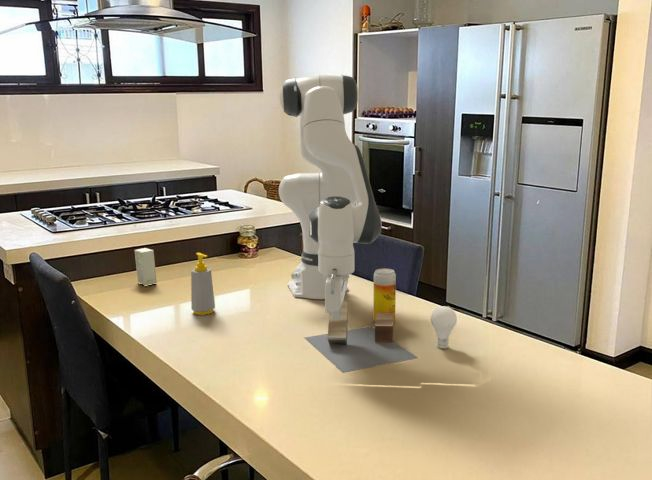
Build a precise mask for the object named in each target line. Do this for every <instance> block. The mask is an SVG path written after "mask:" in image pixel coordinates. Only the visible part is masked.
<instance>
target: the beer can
mask: <svg viewBox="0 0 652 480" xmlns="http://www.w3.org/2000/svg"><path fill="white" fill-rule="evenodd" d="M396 277H397V274H396V272H395V270H394V269H391V268H378V269H375V270H374V273H373V303H372V304H373V307H372V308H373V313H372V314H373V315H372V316H373V317H372V319H373V322H375V321H376V313H393V323H395V321H396V299H397V298H396V295H397V294H396V293H397V292H396V291H397V287H396V286H397V285H396V283H397V281H396V280H397V278H396Z"/></svg>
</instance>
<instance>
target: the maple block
mask: <svg viewBox="0 0 652 480" xmlns="http://www.w3.org/2000/svg"><path fill="white" fill-rule="evenodd" d="M348 323H349V303H348V301H347V300H346V301H345V300H343V303H342V307H341V316H340V319H339V320H333V313H328V323H327V324H328V326H327V334H328V342H329V344H343V345H347V331H348V330H349V329H348V325H349V324H348Z"/></svg>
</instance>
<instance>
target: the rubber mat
mask: <svg viewBox="0 0 652 480" xmlns="http://www.w3.org/2000/svg"><path fill="white" fill-rule="evenodd" d="M304 339H305V340H306V341H307V342H308V343H309V344H310V345H311V346H312V347H314V349H316V350H317V351H318V352H319V353H320V354H321V355H323V357H324V358H326V359H327V360H328V361H329V362H330V363H331V364H332V365H334V366H335V368H337V369H338V370H339V371H340V372H341V373H342V374H343V373H349V372H354V371H359V370H364V369H368V368H374V367H379V366H384V365H388V364H389V365H390V364H393V363H394V364H395V363H399V362H404V361H409V360H414V359H419V357H418V356H417V355H415V354H414V353H412V352H411V351H409V350H408V349H406V348H404V347H403V346H401V345H400V344H398V342H396V341H394V340H393V343H377V342H375V326H374V327H373V326H372V325H370V326H365V327H364V326H363V327H359V328H354V329H353V328H352V329H348V331H347V345H343V344H329V342H328V333H324V334H317V335H312V336H306V337H304Z"/></svg>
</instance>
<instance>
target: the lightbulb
mask: <svg viewBox="0 0 652 480" xmlns="http://www.w3.org/2000/svg"><path fill="white" fill-rule="evenodd" d="M457 321H458V319H457V314H456V312H455V311H454V310H453V309H452V308H451V307H449V306H446V305H443V306H437V307H436V308H434V309H433V311H432V313H431V314H430V323H431V326H432V327H433V329H434V330H435V333H436V337H437V347H438V348H439V349H442V350H445V349H448V348H449V338H450V337H451V333H452V330H454V329H455V327H456V325H457Z"/></svg>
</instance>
